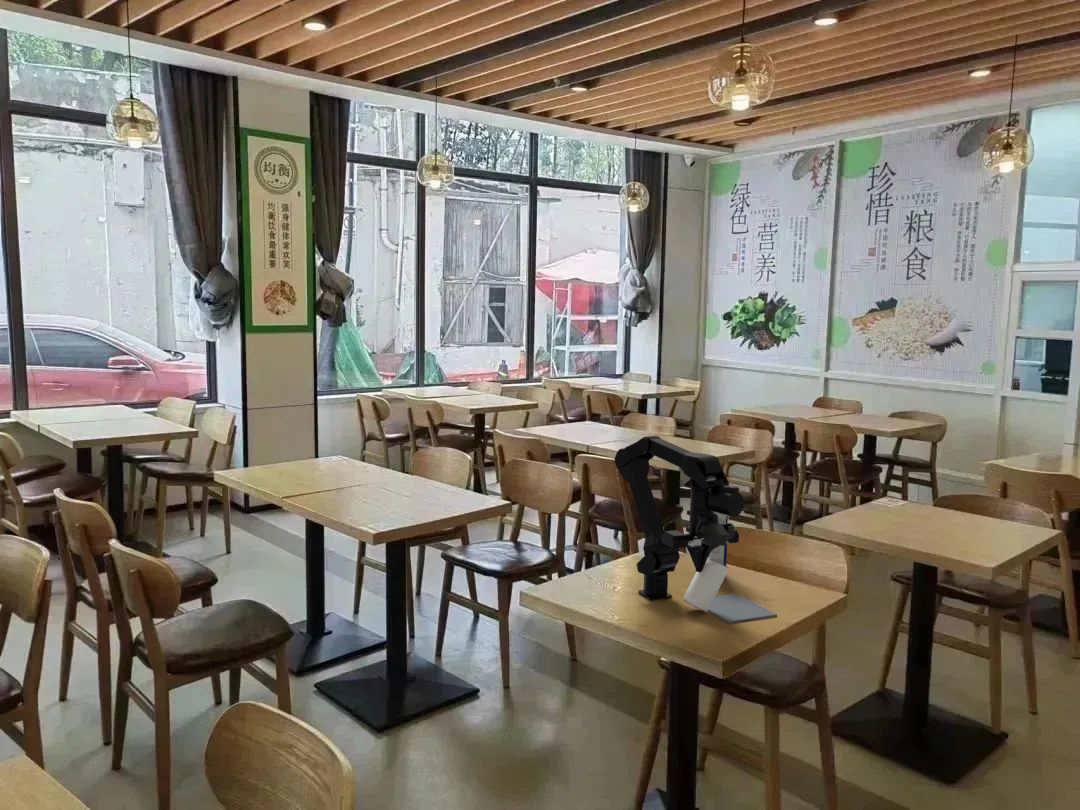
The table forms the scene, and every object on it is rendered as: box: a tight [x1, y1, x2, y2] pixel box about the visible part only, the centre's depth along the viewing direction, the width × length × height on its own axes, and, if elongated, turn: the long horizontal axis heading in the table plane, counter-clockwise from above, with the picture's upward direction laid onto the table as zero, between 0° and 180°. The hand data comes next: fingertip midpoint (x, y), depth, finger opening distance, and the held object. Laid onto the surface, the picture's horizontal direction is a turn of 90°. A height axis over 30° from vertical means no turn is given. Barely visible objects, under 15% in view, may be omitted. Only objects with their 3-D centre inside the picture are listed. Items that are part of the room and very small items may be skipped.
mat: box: [707, 593, 778, 624], centre depth 213 cm, size 16×14×1 cm
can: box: [683, 557, 729, 613], centre depth 210 cm, size 6×6×12 cm
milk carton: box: [695, 512, 730, 578], centre depth 239 cm, size 7×7×20 cm
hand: (699, 571), depth 208 cm, fingers closed
